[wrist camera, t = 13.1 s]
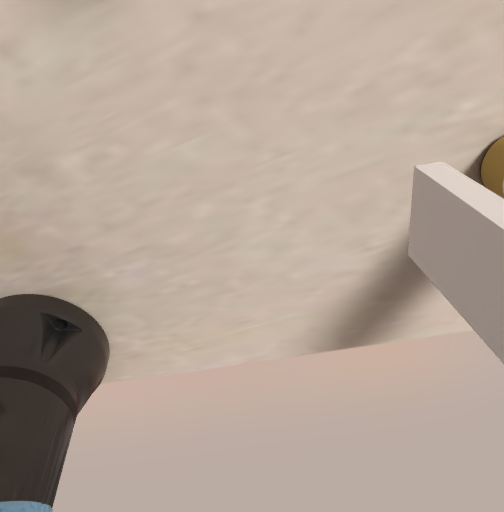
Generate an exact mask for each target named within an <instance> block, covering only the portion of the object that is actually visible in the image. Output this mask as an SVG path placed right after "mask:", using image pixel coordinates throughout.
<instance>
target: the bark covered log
mask: <svg viewBox="0 0 504 512" xmlns="http://www.w3.org/2000/svg"><path fill="white" fill-rule="evenodd" d="M481 178H482V182H483V184H484V185H485V187H486V188H487V189H488V190H490V191H492V192H493V193H495V194H497V195H498V196H500V197H502V198H503V199H504V136H503V137H501V138H500V139H499V140H497V141H496V142H495V143H494V144H493V145H492V146H491V147H490V149H489V150H488V151H487V153H486V155H485V157H484V159H483V162H482V166H481Z"/></svg>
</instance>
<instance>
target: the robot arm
mask: <svg viewBox="0 0 504 512" xmlns="http://www.w3.org/2000/svg"><path fill="white" fill-rule="evenodd" d="M408 256H409V257H410V258H411V259H412V260H413V261H414V262H415V264H416V265H417V266H418V267H419V268H420V269H421V270H422V272H423V273H424V274H425V275H426V276H427V277H428V278H429V280H430V281H431V282H432V283H433V284H434V285H435V286H436V287H437V289H438V290H439V291H440V292H441V293H442V294H443V295H444V297H445V298H446V299H447V300H448V301H449V302H450V303H451V305H452V306H453V307H454V308H455V309H456V310H457V311H458V313H459V314H460V315H461V316H462V317H463V318H464V319H465V320H466V322H467V323H468V324H469V325H470V326H471V327H472V328H473V330H474V331H475V332H476V333H477V334H478V335H479V336H480V338H481V339H482V340H483V341H484V342H485V343H486V344H487V345H488V347H489V348H490V349H491V350H492V351H493V352H494V353H495V355H496V356H497V357H498V358H499V359H500V360H501V361H502V363H503V364H504V199H503V198H502V197H500V196H498V195H497V194H495V193H493V192H492V191H490V190H488V189H487V188H485V187H484V186H482V185H480V184H479V183H477V182H475V181H474V180H472V179H470V178H469V177H467V176H466V175H464V174H462V173H461V172H459V171H457V170H456V169H454V168H452V167H451V166H449V165H448V164H446V163H444V162H443V161H441V162H435V163H429V164H423V165H417V166H414V176H413V189H412V203H411V216H410V229H409V242H408ZM109 352H110V351H109V343H108V339H107V337H106V335H105V332H104V331H103V329H102V328H101V326H100V325H99V324H98V322H97V321H96V320H95V319H94V318H93V317H91V316H90V315H89V314H88V313H87V312H85V311H84V310H82V309H81V308H79V307H77V306H75V305H73V304H71V303H69V302H66V301H64V300H61V299H58V298H54V297H50V296H44V295H35V294H22V295H13V296H8V297H4V298H1V299H0V512H52V506H53V503H54V499H55V495H56V491H57V487H58V484H59V480H60V476H61V472H62V469H63V465H64V461H65V457H66V454H67V450H68V446H69V442H70V439H71V435H72V432H73V427H74V424H75V420H76V417H77V415H78V413H79V412H80V410H81V409H82V408H83V406H84V405H85V403H86V402H87V400H88V399H89V397H90V396H91V394H92V393H93V392H94V391H95V390H96V388H97V387H98V386H99V385H100V383H101V381H102V379H103V377H104V375H105V372H106V368H107V364H108V360H109Z"/></svg>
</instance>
